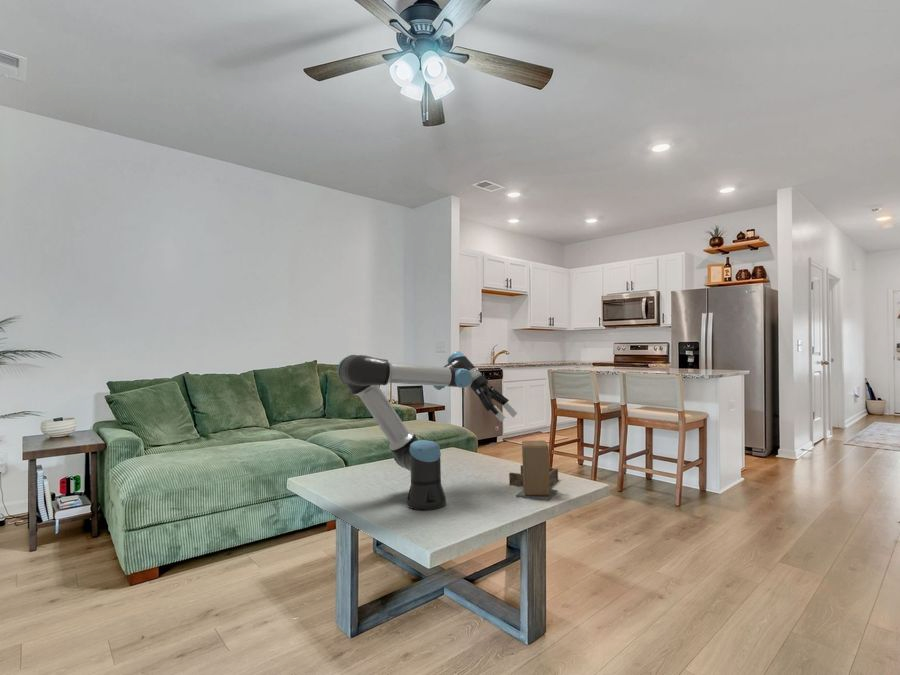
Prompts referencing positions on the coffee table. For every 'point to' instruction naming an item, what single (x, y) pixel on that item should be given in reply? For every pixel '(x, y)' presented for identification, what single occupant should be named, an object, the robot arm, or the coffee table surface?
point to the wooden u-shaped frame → (518, 478)
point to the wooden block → (535, 468)
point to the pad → (544, 498)
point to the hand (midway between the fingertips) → (509, 417)
